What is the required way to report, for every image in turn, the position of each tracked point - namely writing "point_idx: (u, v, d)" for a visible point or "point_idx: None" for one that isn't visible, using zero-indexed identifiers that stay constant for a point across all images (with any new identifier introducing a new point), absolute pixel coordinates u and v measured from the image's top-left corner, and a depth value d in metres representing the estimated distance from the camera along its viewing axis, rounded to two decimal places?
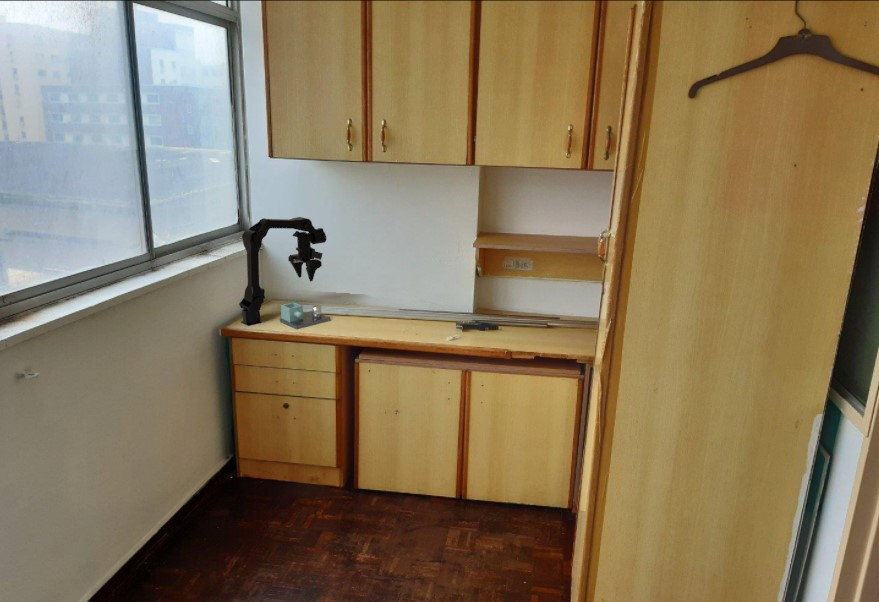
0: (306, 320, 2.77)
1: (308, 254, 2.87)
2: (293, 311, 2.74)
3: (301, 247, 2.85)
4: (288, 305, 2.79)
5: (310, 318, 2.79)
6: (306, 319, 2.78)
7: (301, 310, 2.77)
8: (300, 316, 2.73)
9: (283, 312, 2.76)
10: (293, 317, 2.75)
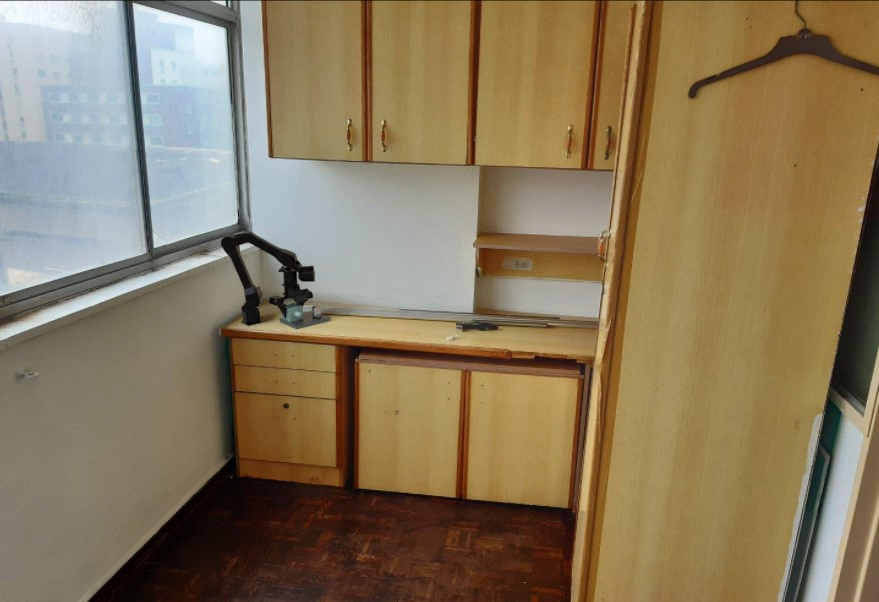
0: (306, 320, 2.77)
1: (285, 291, 2.72)
2: (293, 311, 2.74)
3: None
4: (288, 305, 2.79)
5: (310, 318, 2.79)
6: (306, 319, 2.78)
7: (301, 310, 2.77)
8: (300, 316, 2.73)
9: None
10: (293, 317, 2.75)
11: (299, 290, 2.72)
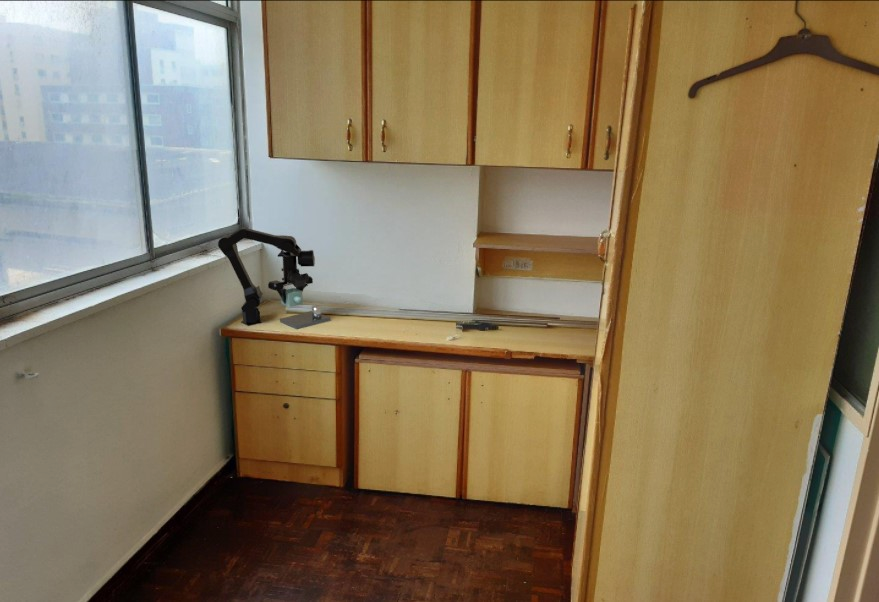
0: (306, 320, 2.77)
1: (285, 276, 2.70)
2: (293, 296, 2.72)
3: None
4: (288, 291, 2.77)
5: (310, 318, 2.79)
6: (306, 319, 2.78)
7: (301, 295, 2.75)
8: (299, 301, 2.71)
9: None
10: (293, 302, 2.73)
11: (298, 275, 2.70)
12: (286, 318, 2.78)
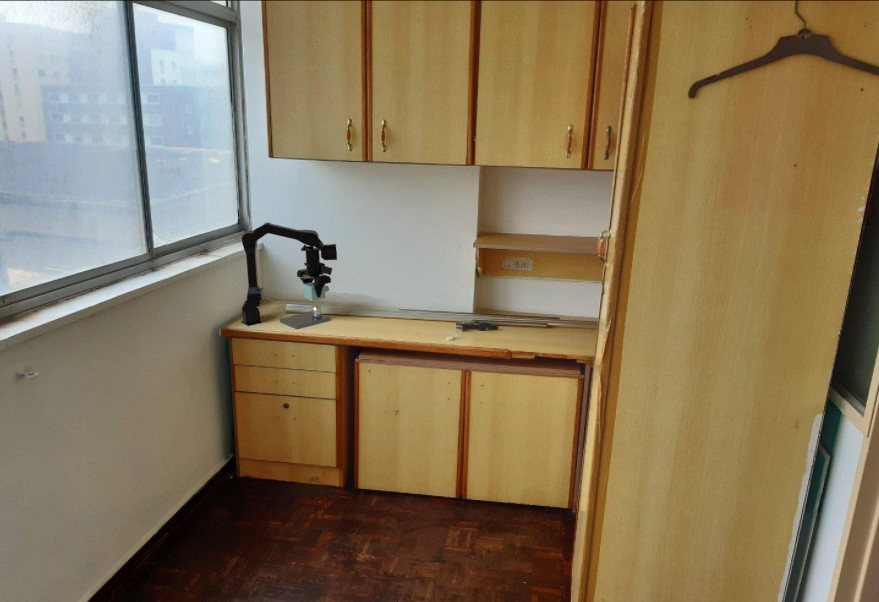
0: (306, 320, 2.77)
1: (317, 270, 2.73)
2: None
3: (309, 262, 2.71)
4: None
5: (310, 318, 2.79)
6: (306, 319, 2.78)
7: None
8: None
9: (315, 293, 2.74)
10: None
11: None
12: (286, 318, 2.78)
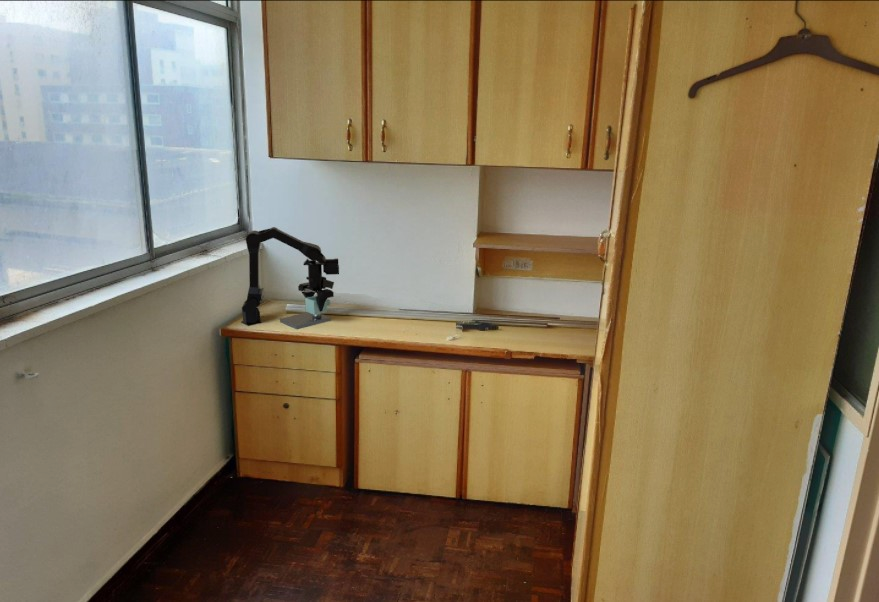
0: (306, 320, 2.77)
1: (319, 284, 2.75)
2: None
3: (312, 276, 2.73)
4: None
5: (310, 318, 2.79)
6: (306, 319, 2.78)
7: None
8: None
9: (317, 307, 2.76)
10: None
11: None
12: (286, 318, 2.78)
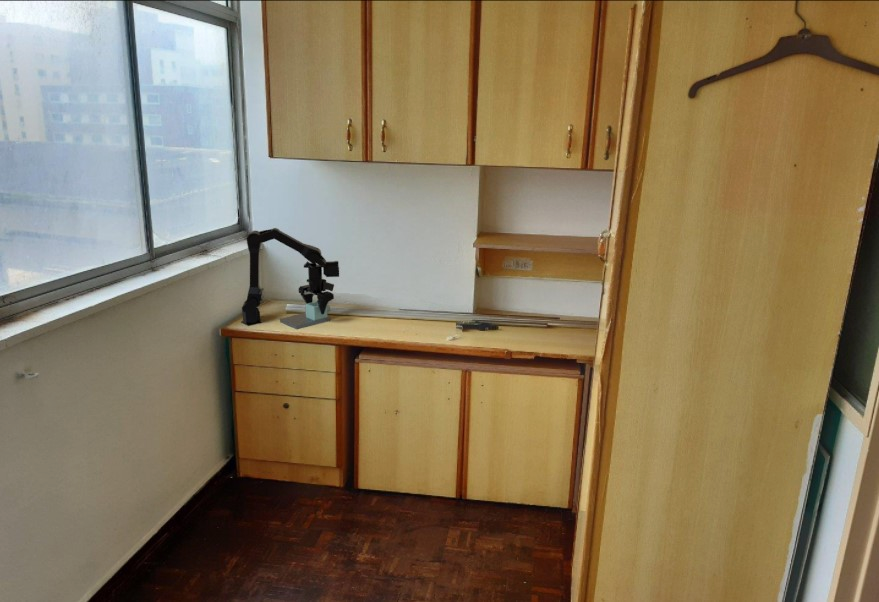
0: (306, 320, 2.77)
1: (320, 286, 2.75)
2: None
3: (312, 279, 2.73)
4: None
5: None
6: (306, 319, 2.78)
7: None
8: None
9: (317, 312, 2.77)
10: None
11: None
12: (286, 318, 2.78)
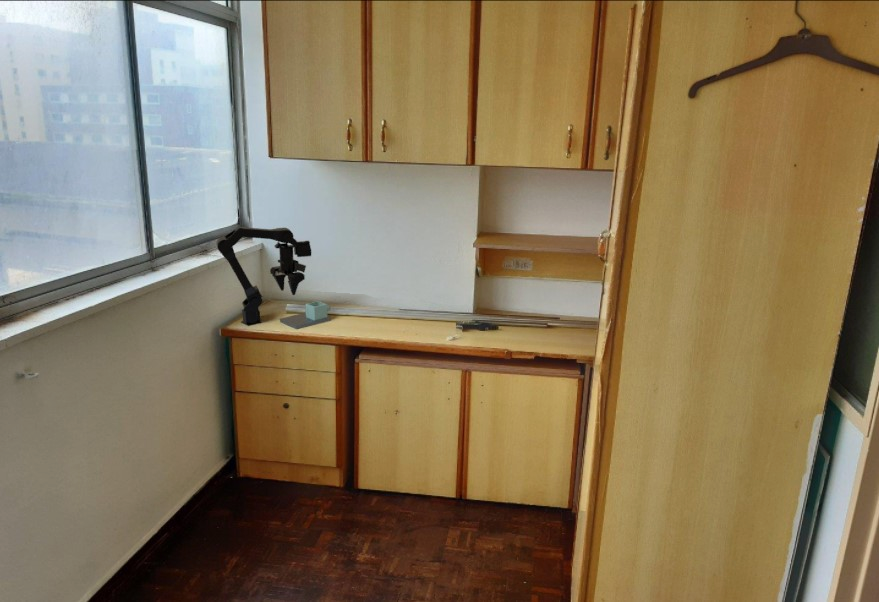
0: (306, 320, 2.77)
1: (291, 267, 2.75)
2: None
3: (283, 259, 2.73)
4: None
5: None
6: (306, 319, 2.78)
7: None
8: None
9: (317, 312, 2.77)
10: None
11: None
12: (286, 318, 2.78)
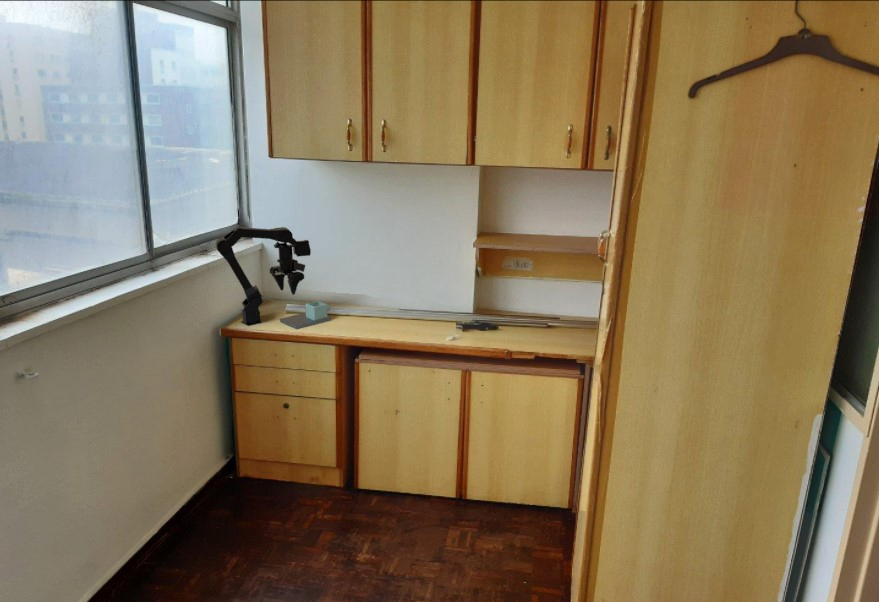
0: (306, 320, 2.77)
1: (290, 266, 2.75)
2: None
3: (283, 259, 2.73)
4: None
5: None
6: (306, 319, 2.78)
7: None
8: None
9: (317, 312, 2.77)
10: None
11: None
12: (286, 318, 2.78)
